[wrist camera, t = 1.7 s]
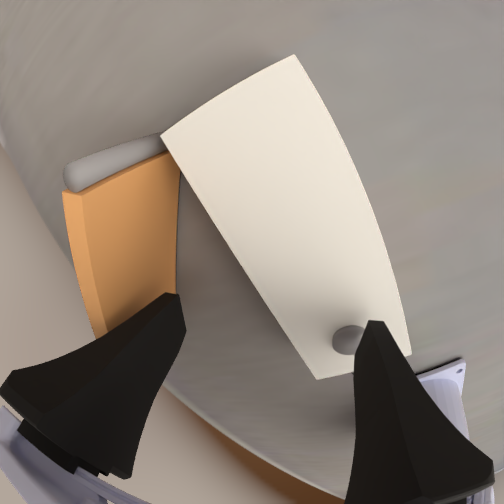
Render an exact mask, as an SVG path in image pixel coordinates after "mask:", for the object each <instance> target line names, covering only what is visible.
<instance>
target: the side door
mask: <svg viewBox="0 0 504 504" xmlns="http://www.w3.org/2000/svg"><path fill="white" fill-rule="evenodd" d="M164 132H165V131H164ZM164 132H160V133H156V134H153V135H149V136H145V137H142V138H139V139H135V140H132V141H129V142H126V143H122V144H119V145H116V146H113V147H110V148H108V149H105V150H102V151H99V152H96V153H94V154H91V155H88V156H86V157H83V158H80V159H78V160H75V161H73V162H71V163H68V164H67V165H66V166H65V168H64V172H63V178H64V182H65V184H66V186H67V188H68V189H66V190H64V191H63V192H62V196H63V204H64V212H65V219H66V225H67V231H68V237H69V242H70V247H71V252H72V257H73V262H74V266H75V270H76V274H77V279H78V282H79V286H80V290H81V293H82V297H83V300H84V303H85V307H86V311H87V314H88V317H89V320H90V323H91V326H92V329H93V332H94V335H95V337H96V339H98V338H100V337H101V336H103V335H105V334H106V333H108V332H109V331H111V330H112V329H114V328H115V327H117V326H118V325H120V324H121V323H123V322H124V321H126V320H127V319H129V318H130V317H131V316H133V315H134V314H136V313H137V312H138V311H140V310H141V309H143V308H144V307H145V306H147V305H148V304H149V303H151V302H152V301H153V300H155V299H156V298H158V297H159V296H160V295H162V294H163V293H165V292H168V293H173V294H176V233H177V211H178V194H179V180H180V168H179V166H178V164H177V163H176V161H175V159H174V158H173V156H172V155H171V153H170V151H169V150H168V148H167V146H166V145H165V143H164V142H163V140H162V138H161V137H160V135H162V134H163V133H164Z"/></svg>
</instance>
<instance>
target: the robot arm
mask: <svg viewBox="0 0 504 504" xmlns="http://www.w3.org/2000/svg"><path fill="white" fill-rule="evenodd" d="M185 334H186V326H185V321H184V317H183V312H182V307H181V302H180V297H179V295H178V294H173V293H168V292H165V293H163V294H162V295H160V296H159V297H158V298H156V299H155V300H153V301H152V302H151V303H149V304H148V305H147V306H145V307H144V308H143V309H141V310H140V311H138V312H137V313H136V314H134V315H133V316H131V317H130V318H129V319H127V320H126V321H124V322H123V323H121V324H120V325H118V326H117V327H115V328H114V329H112V330H111V331H109V332H108V333H106V334H105V335H103V336H101V337H100V338H98V339H96V340H95V341H93V342H91V343H89V344H87V345H85V346H83V347H81V348H79V349H77V350H75V351H73V352H71V353H68V354H66V355H64V356H61V357H59V358H57V359H54V360H51V361H48V362H45V363H42V364H39V365H35V366H31V367H27V368H23V369H18V370H13V371H12V372H11V373H10V375H9V376H8V377H7V379H6V380H5V382H4V383H3V384H2V386H1V387H0V395H1V397H2V398H3V399H4V400H5V401H6V402H7V403H8V404H9V405H10V406H11V407H13V409H15V411H17V412H18V413H19V414H20V415H21V416H22V417H23V418H24V419H23V421H22V422H21V421H20V420H19V419H17V418H16V417H15V416H14V415H13V414H12V413H11V412H10V411H9V410H8V409H7V408H6V407H5V406H2V407H1V408H0V468H1V470H2V471H3V472H4V474H5V475H6V477H7V478H8V479H9V481H10V482H11V484H12V485H13V486H14V488H15V489H16V490H17V491H18V493H19V494H20V495H21V496H22V498H23V499H24V500H25V501H26V503H27V504H108V503H107V500H109V501H111V502H113V503H115V504H150V503H148V502H146V501H143V500H141V499H139V498H137V497H134V496H132V495H130V494H128V493H126V492H124V491H122V490H120V489H118V488H116V487H114V486H112V485H110V484H108V483H106V482H105V481H103V480H101V479H99V478H98V474H99V473H101V474H103V475H105V476H108V475H109V473H112V474H114V475H115V476H117V477H119V478H122V479H128V478H130V477H131V476H132V470H133V465H134V461H135V456H136V452H137V449H138V445H139V441H140V438H141V435H142V431H143V428H144V425H145V422H146V419H147V416H148V414H149V411H150V409H151V406H152V403H153V401H154V399H155V397H156V394H157V392H158V390H159V388H160V387H161V385H162V383H163V381H164V379H165V377H166V375H167V374H168V372H169V370H170V368H171V366H172V364H173V362H174V360H175V358H176V356H177V354H178V353H179V350H180V347H181V345H182V342H183V339H184V337H185ZM465 367H466V363H465V360H464V359H460V360H457V361H455V362H452V363H450V364H447V365H445V366H442V367H440V368H437V369H434V370H432V371H429V372H426V373H423V374H420V375H417V376H416V375H415V373H414V372H413V370H412V368H411V367H410V365H409V363H408V362H407V360H406V359H405V357H404V355H403V353H402V352H401V350H400V348H399V347H398V345H397V343H396V341H395V340H394V338H393V336H392V334H391V333H390V331H389V329H388V327H387V326H386V324H385V322H384V321H377V320H368V322H367V325H366V328H365V330H364V333H363V335H362V338H361V340H360V343H359V345H358V348H357V350H356V352H355V355H354V377H353V380H354V397H355V417H356V439H355V449H354V457H353V464H352V470H351V476H350V481H349V486H348V491H347V495H346V499H345V503H344V504H495V499H494V490H493V487H492V485H493V484H494V482H495V478H494V467H493V460H492V459H490V458H489V457H488V456H487V455H485V454H484V453H483V452H482V451H480V450H479V449H478V448H477V447H475V446H474V445H473V444H472V443H471V442H470V439H469V433H468V428H467V422H466V417H465V412H464V408H463V403H462V399H461V394H462V388H463V382H464V375H465Z"/></svg>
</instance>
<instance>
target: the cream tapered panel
mask: <svg viewBox="0 0 504 504" xmlns="http://www.w3.org/2000/svg"><path fill="white" fill-rule="evenodd" d="M160 137H161V138H162V140H163V142H164V143H165V145H166V146H167V148H168V150H169V151H170V153H171V155H172V156H173V158H174V159H175V161H176V163H177V164H178V166H179V168H180V169H181V171H182V172H183V174H184V176H185V177H186V179H187V180H188V182H189V184H190V185H191V187H192V189H193V190H194V192H195V193H196V195H197V197H198V198H199V200H200V201H201V203H202V204H203V206H204V208H205V209H206V211H207V212H208V214H209V216H210V217H211V219H212V220H213V222H214V224H215V225H216V227H217V228H218V230H219V231H220V233H221V235H222V236H223V238H224V239H225V241H226V242H227V244H228V246H229V247H230V249H231V250H232V252H233V253H234V255H235V256H236V258H237V260H238V261H239V263H240V264H241V266H242V267H243V269H244V270H245V272H246V274H247V275H248V277H249V278H250V280H251V281H252V283H253V284H254V286H255V287H256V289H257V291H258V292H259V294H260V295H261V297H262V298H263V300H264V301H265V303H266V304H267V306H268V307H269V309H270V310H271V312H272V313H273V315H274V316H275V318H276V320H277V321H278V323H279V324H280V326H281V327H282V329H283V330H284V332H285V333H286V335H287V336H288V338H289V339H290V341H291V342H292V344H293V345H294V347H295V348H296V350H297V351H298V353H299V354H300V356H301V357H302V359H303V360H304V362H305V363H306V365H307V366H308V368H309V369H310V371H311V372H312V374H313V375H314V376H315V378H316V379H317V380H318V379H323V378H328V377H332V376H337V375H341V374H346V373H350V372H351V373H352V374H353V375H354V355H355V352H356V350H357V348H358V345H359V343H360V340H361V338H362V335H363V333H364V330H365V328H366V325H367V322H368V320H377V321H384V322H385V324H386V326H387V327H388V329H389V331H390V333H391V334H392V336H393V338H394V340H395V341H396V343H397V345H398V347H399V348H400V350H401V352H402V353H403V355H404V357H406V356H409V355H412V352H411V347H410V341H409V336H408V331H407V326H406V322H405V317H404V313H403V309H402V304H401V300H400V296H399V292H398V289H397V285H396V281H395V278H394V274H393V270H392V267H391V264H390V260H389V257H388V254H387V251H386V247H385V244H384V241H383V238H382V235H381V232H380V229H379V227H378V224H377V221H376V218H375V215H374V213H373V210H372V207H371V205H370V202H369V200H368V197H367V194H366V192H365V189H364V187H363V185H362V182H361V180H360V177H359V175H358V173H357V170H356V168H355V166H354V163H353V161H352V159H351V157H350V155H349V152H348V150H347V148H346V146H345V144H344V142H343V140H342V138H341V136H340V134H339V132H338V130H337V128H336V126H335V124H334V122H333V120H332V118H331V116H330V114H329V112H328V110H327V108H326V106H325V105H324V103H323V101H322V99H321V97H320V96H319V94H318V92H317V90H316V89H315V87H314V85H313V83H312V82H311V80H310V78H309V77H308V75H307V73H306V72H305V70H304V69H303V67H302V65H301V64H300V62H299V61H298V59H297V57H296V56H295V54H294V55H291V56H289V57H287V58H285V59H283V60H281V61H279V62H277V63H275V64H273V65H271V66H269V67H267V68H265V69H263V70H261V71H259V72H257V73H256V74H254V75H252V76H250V77H248V78H247V79H245V80H243V81H241V82H239V83H238V84H236V85H234V86H233V87H231V88H229V89H228V90H226V91H224V92H223V93H221V94H219V95H218V96H216V97H215V98H213V99H211V100H210V101H208V102H207V103H205V104H204V105H202V106H201V107H199V108H198V109H196V110H195V111H193V112H192V113H190V114H189V115H188V116H186V117H185V118H183V119H182V120H180V121H179V122H178V123H176V124H175V125H174V126H172V127H171V128H169V129H168V130H167V131H165V132H164V133H163V134H162V135H160Z"/></svg>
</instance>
